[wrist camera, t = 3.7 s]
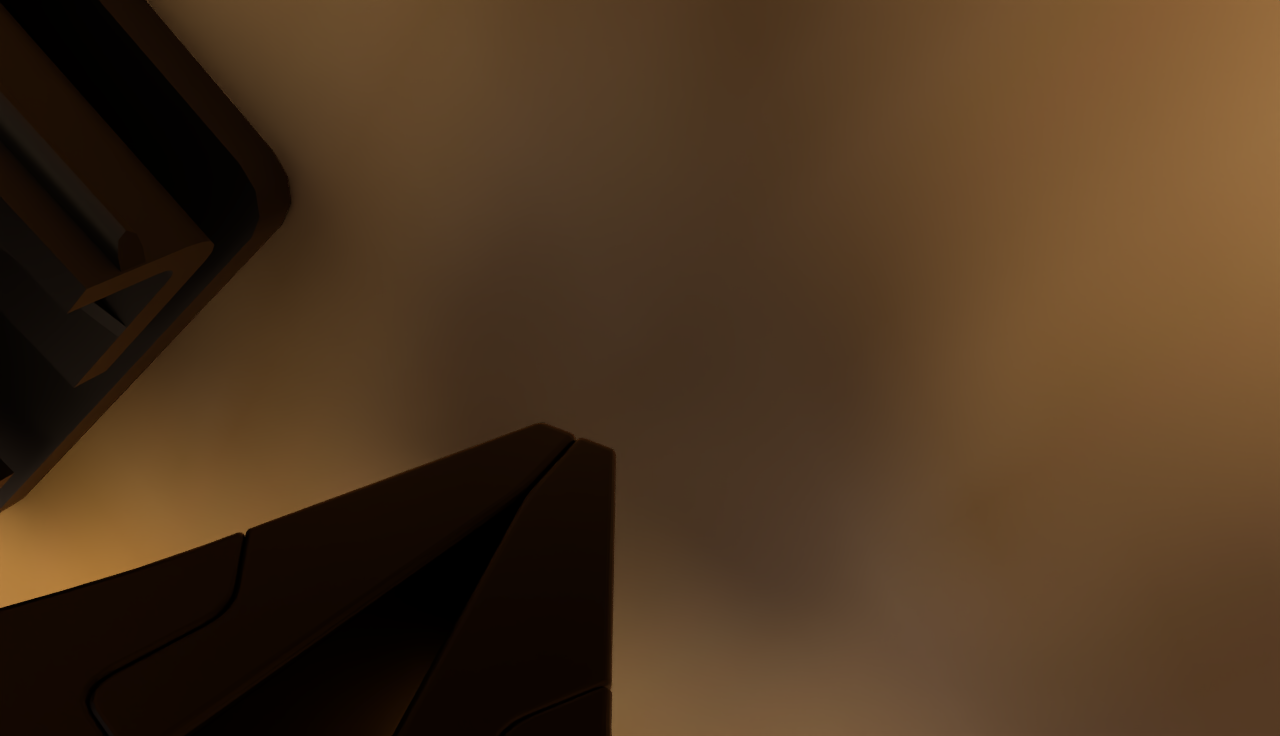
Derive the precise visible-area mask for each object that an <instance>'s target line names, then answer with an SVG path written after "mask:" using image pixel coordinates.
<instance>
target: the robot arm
mask: <svg viewBox="0 0 1280 736" xmlns="http://www.w3.org/2000/svg"><path fill="white" fill-rule="evenodd" d="M615 481H616V453H615V451H614V450H613V449H612V448H609V447H607V446H604V445H601V444H599V443H596V442H593V441H591V440H588V439H585V438H579V439H577V440H576V437H575V436H574V434H572V433H570V432H567V431H564V430H562V429H559V428H556V427H554V426H551V425H548V424H546V423H536V424H533V425H530V426H528V427H525V428H522V429H519V430H517V431H514V432H511V433H509V434H506V435H503V436H500V437H498V438H495V439H492V440H490V441H487V442H484V443H481V444H479V445H476V446H473V447H470V448H468V449H465V450H462V451H460V452H457V453H454V454H451V455H449V456H446V457H443V458H441V459H438V460H435V461H432V462H430V463H427V464H424V465H421V466H419V467H416V468H413V469H411V470H408V471H405V472H402V473H400V474H397V475H394V476H392V477H389V478H386V479H383V480H381V481H378V482H375V483H372V484H370V485H367V486H364V487H362V488H359V489H356V490H353V491H351V492H348V493H345V494H343V495H340V496H337V497H334V498H332V499H329V500H326V501H323V502H321V503H318V504H315V505H313V506H310V507H307V508H304V509H302V510H299V511H296V512H293V513H291V514H288V515H285V516H283V517H280V518H277V519H274V520H272V521H269V522H266V523H264V524H261V525H258V526H255V527H253V528H250V529H248V530H247V532H246V535H244V534H243V533H235V534H233V535H230V536H227V537H225V538H222V539H219V540H216V541H214V542H211V543H208V544H206V545H203V546H200V547H197V548H194V549H191V550H188V551H186V552H183V553H180V554H177V555H174V556H171V557H168V558H165V559H162V560H159V561H156V562H153V563H151V564H148V565H145V566H142V567H139V568H136V569H133V570H129V571H126V572H123V573H119V574H116V575H113V576H109V577H106V578H103V579H99V580H96V581H93V582H89V583H86V584H83V585H79V586H76V587H73V588H69V589H66V590H63V591H59V592H56V593H52V594H49V595H45V596H42V597H38V598H34V599H31V600H27V601H24V602H20V603H17V604H13V605H10V606H6V607H2V608H0V736H612V733H611V719H612V692H611V686H612V644H613V590H614V535H615Z"/></svg>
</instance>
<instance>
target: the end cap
mask: <svg viewBox="0 0 1280 736" xmlns="http://www.w3.org/2000/svg"><path fill="white" fill-rule="evenodd" d="M290 204H291V199H290V191H289V184H288V176H287V175H286V173H285V171H284V169H283V168H282V166H281V164H280V162H279V161H278V159H277V157H276V155H275V154H274V152H273V150H272V149H271V148H270V147H269V146H268V145H267V143H266V142H265V141H264V140H263V139H262V138H261V136H260V135H259V134H258V133H257V132H256V130H255V129H254V128H253V127H252V126H251V125H250V123H249V122H248V121H247V120H246V119H245V117H244V116H243V115H242V114H241V113H240V112H239V110H238V109H237V108H236V107H235V106H234V105H233V103H232V102H231V101H230V100H229V99H228V97H227V96H226V95H225V94H224V93H223V92H222V90H221V89H220V88H219V87H218V86H217V84H216V83H215V82H214V81H213V80H212V79H211V77H210V76H209V75H208V74H207V73H206V72H205V70H204V69H203V68H202V67H201V66H200V64H199V63H198V62H197V61H196V60H195V59H194V57H193V56H192V55H191V54H190V53H189V52H188V50H187V49H186V48H185V47H184V46H183V44H182V43H181V42H180V41H179V40H178V39H177V37H176V36H175V35H174V34H173V33H172V32H171V30H170V29H169V28H168V27H167V26H166V24H165V23H164V22H163V21H162V20H161V19H160V17H159V16H158V15H157V14H156V13H155V11H154V10H153V9H152V8H151V7H150V6H149V4H148V3H147V2H146V1H145V0H0V512H2V511H3V510H5V509H7V508H8V507H10V506H11V505H13V504H15V503H16V502H18V501H20V500H21V499H23V498H24V497H25V496H26V495H27V493H28V492H29V491H30V490H31V489H32V488H33V487H34V486H35V485H36V484H37V483H38V482H39V481H40V480H41V479H42V478H43V477H44V475H45V474H46V473H47V472H48V471H49V470H50V469H51V468H52V467H53V466H54V465H55V464H56V463H57V462H58V461H59V460H60V459H61V457H62V456H63V455H64V454H65V453H66V452H67V451H68V450H69V449H70V448H71V447H72V446H73V445H74V444H75V443H76V442H77V441H78V439H79V438H80V437H81V436H82V435H83V434H84V433H85V432H86V431H87V430H88V429H89V428H90V427H91V426H92V425H93V424H94V423H95V421H96V420H97V419H98V418H99V417H100V416H101V415H102V414H103V413H104V412H105V411H106V410H107V409H108V408H109V407H110V406H111V405H112V404H113V402H114V401H115V400H116V399H117V398H118V397H119V396H120V395H121V394H122V393H123V392H124V391H125V390H126V389H127V388H128V387H129V386H130V384H131V383H132V382H133V381H134V380H135V379H136V378H137V377H138V376H139V375H140V374H141V373H142V372H143V371H144V370H145V369H146V368H147V366H148V365H149V364H150V363H151V362H152V361H153V360H154V359H155V358H156V357H157V356H158V355H159V354H160V353H161V352H162V351H163V350H164V348H165V347H166V346H167V345H168V344H169V343H170V342H171V341H172V340H173V339H174V338H175V337H176V336H177V335H178V334H179V333H180V332H181V331H182V329H183V328H184V327H185V326H186V325H187V324H188V323H189V322H190V321H191V320H192V319H193V318H194V317H195V316H196V315H197V314H198V313H199V311H200V310H201V309H202V308H203V307H204V306H205V305H206V304H207V303H208V302H209V301H210V300H211V299H212V298H213V297H214V296H215V295H216V293H217V292H218V291H219V290H220V289H221V288H222V287H223V286H224V285H225V284H226V283H227V282H228V281H229V280H230V279H231V278H232V277H233V275H234V274H235V273H236V272H237V271H238V270H239V269H240V268H241V267H242V266H243V265H244V264H245V263H246V262H247V261H248V260H249V259H250V257H251V256H252V255H253V254H254V253H255V252H256V251H257V250H258V249H259V248H260V247H261V246H262V245H263V244H264V243H265V242H266V241H267V240H268V238H269V237H270V236H271V235H272V234H273V233H274V232H275V231H276V230H277V229H278V228H279V227H280V226H281V225H282V223H283V220H284V218H285V216H286V213H287V211H288V209H289V206H290Z"/></svg>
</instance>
